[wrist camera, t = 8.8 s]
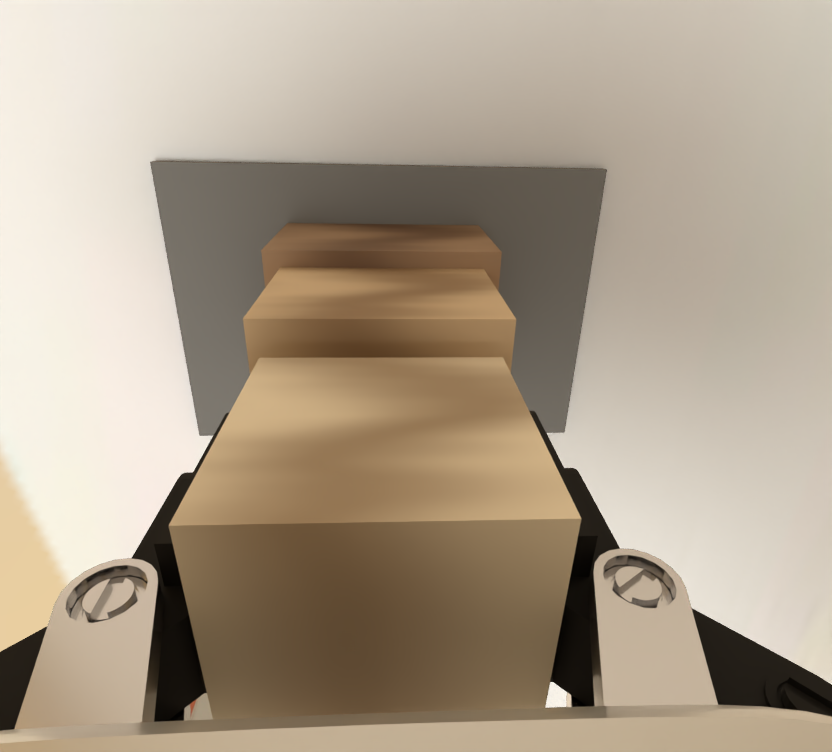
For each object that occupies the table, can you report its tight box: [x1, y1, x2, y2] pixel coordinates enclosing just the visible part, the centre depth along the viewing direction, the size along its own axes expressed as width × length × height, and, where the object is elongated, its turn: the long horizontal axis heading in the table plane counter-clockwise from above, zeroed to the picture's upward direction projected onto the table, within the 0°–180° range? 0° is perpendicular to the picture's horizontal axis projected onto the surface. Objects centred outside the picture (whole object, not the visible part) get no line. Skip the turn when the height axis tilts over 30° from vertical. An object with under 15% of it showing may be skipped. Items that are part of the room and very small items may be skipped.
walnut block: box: [261, 223, 502, 290], centre depth 19 cm, size 7×7×4 cm
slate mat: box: [150, 161, 607, 436], centre depth 21 cm, size 16×11×1 cm
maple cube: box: [169, 357, 581, 719], centre depth 10 cm, size 5×5×5 cm
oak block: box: [243, 267, 516, 374], centre depth 15 cm, size 6×6×4 cm
